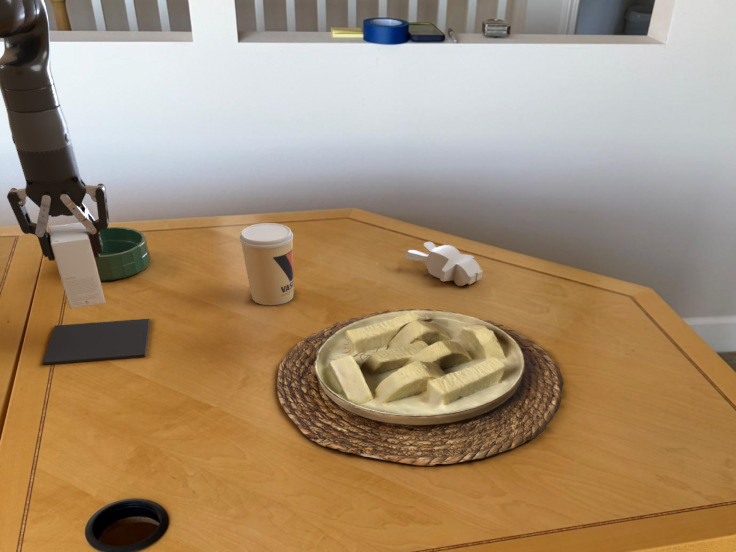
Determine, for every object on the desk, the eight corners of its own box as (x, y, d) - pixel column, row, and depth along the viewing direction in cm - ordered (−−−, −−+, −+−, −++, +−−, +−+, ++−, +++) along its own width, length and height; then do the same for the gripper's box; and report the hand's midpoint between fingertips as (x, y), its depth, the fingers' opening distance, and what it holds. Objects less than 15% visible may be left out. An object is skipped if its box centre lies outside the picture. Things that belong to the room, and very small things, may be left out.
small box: (106, 304, 123) (89, 238, 116) (69, 310, 122) (50, 243, 115) (101, 284, 129) (85, 220, 122) (66, 289, 127) (47, 225, 120)
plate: (576, 333, 134) (582, 296, 129) (539, 495, 102) (546, 455, 98) (331, 301, 143) (329, 266, 138) (228, 441, 111) (220, 402, 107)
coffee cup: (290, 309, 140) (284, 243, 132) (241, 305, 141) (232, 239, 133) (303, 287, 147) (298, 223, 139) (256, 284, 148) (248, 220, 140)
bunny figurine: (463, 273, 143) (402, 243, 149) (459, 298, 146) (399, 268, 153) (493, 258, 148) (433, 229, 154) (488, 283, 152) (430, 254, 158)
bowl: (66, 285, 147) (58, 259, 144) (76, 253, 158) (69, 229, 155) (148, 279, 149) (142, 254, 146) (152, 249, 161) (147, 224, 157)
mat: (43, 365, 125) (42, 362, 124) (55, 328, 134) (54, 325, 134) (145, 357, 127) (144, 354, 127) (149, 321, 137) (149, 318, 136)
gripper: (98, 132, 114) (124, 245, 125) (-5, 136, 112) (31, 250, 123) (92, 147, 108) (120, 264, 119) (-17, 151, 106) (22, 270, 117)
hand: (74, 256), depth 121 cm, fingers closed on small box, 6 cm apart
